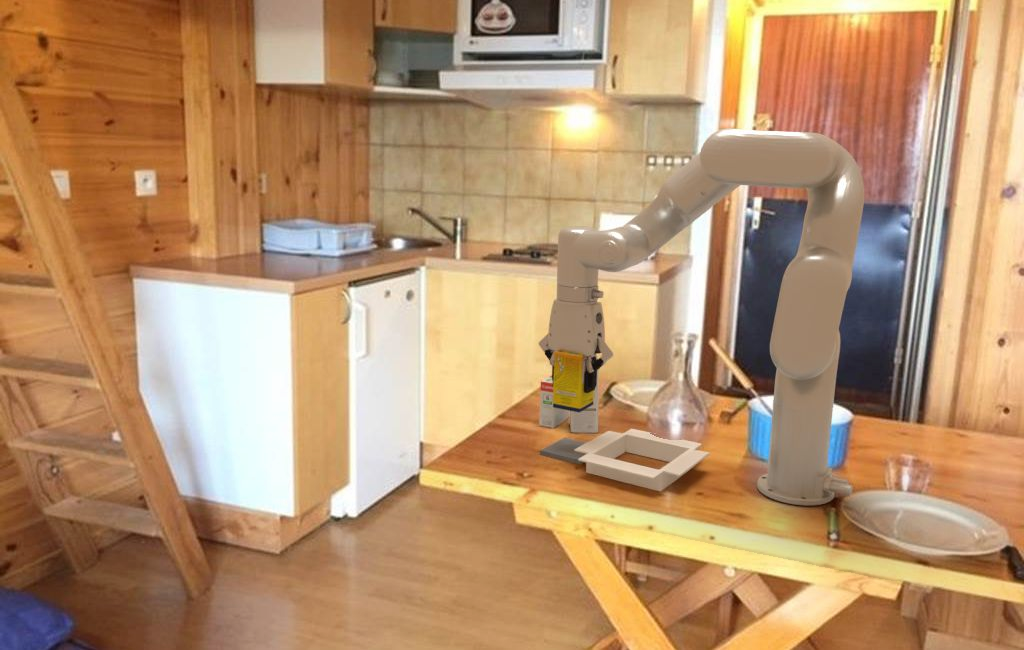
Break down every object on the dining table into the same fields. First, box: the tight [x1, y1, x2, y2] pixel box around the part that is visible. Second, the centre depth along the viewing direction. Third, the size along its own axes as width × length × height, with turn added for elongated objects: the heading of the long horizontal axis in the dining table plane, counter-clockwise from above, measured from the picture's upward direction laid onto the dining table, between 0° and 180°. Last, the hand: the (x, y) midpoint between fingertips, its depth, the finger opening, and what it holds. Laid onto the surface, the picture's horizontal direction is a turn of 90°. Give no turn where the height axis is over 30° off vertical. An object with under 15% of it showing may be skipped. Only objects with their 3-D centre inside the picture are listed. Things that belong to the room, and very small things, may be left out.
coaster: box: [539, 437, 587, 465], centre depth 164 cm, size 9×9×1 cm
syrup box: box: [569, 369, 600, 434], centre depth 176 cm, size 6×6×14 cm
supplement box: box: [553, 351, 594, 412], centre depth 161 cm, size 6×6×11 cm
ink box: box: [538, 375, 570, 429], centre depth 180 cm, size 4×8×15 cm, turn 152°
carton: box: [574, 428, 710, 492], centre depth 155 cm, size 21×21×4 cm
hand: (573, 387), depth 161 cm, fingers closed on supplement box, 6 cm apart
